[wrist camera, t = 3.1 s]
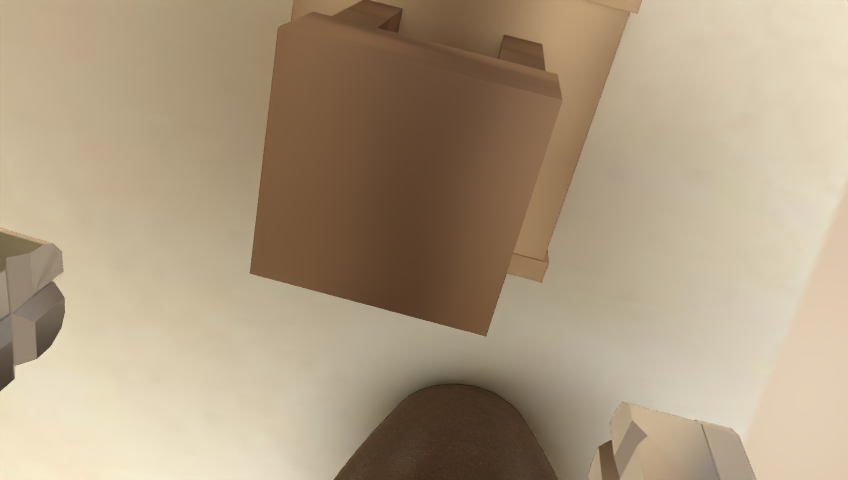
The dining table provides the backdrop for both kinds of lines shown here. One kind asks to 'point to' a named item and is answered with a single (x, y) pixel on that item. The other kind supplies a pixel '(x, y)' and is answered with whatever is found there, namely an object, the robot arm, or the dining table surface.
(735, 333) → the dining table surface
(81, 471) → the dining table surface
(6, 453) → the dining table surface
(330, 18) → the tan pegged block
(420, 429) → the plant pot
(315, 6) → the tan wooden pedestal
